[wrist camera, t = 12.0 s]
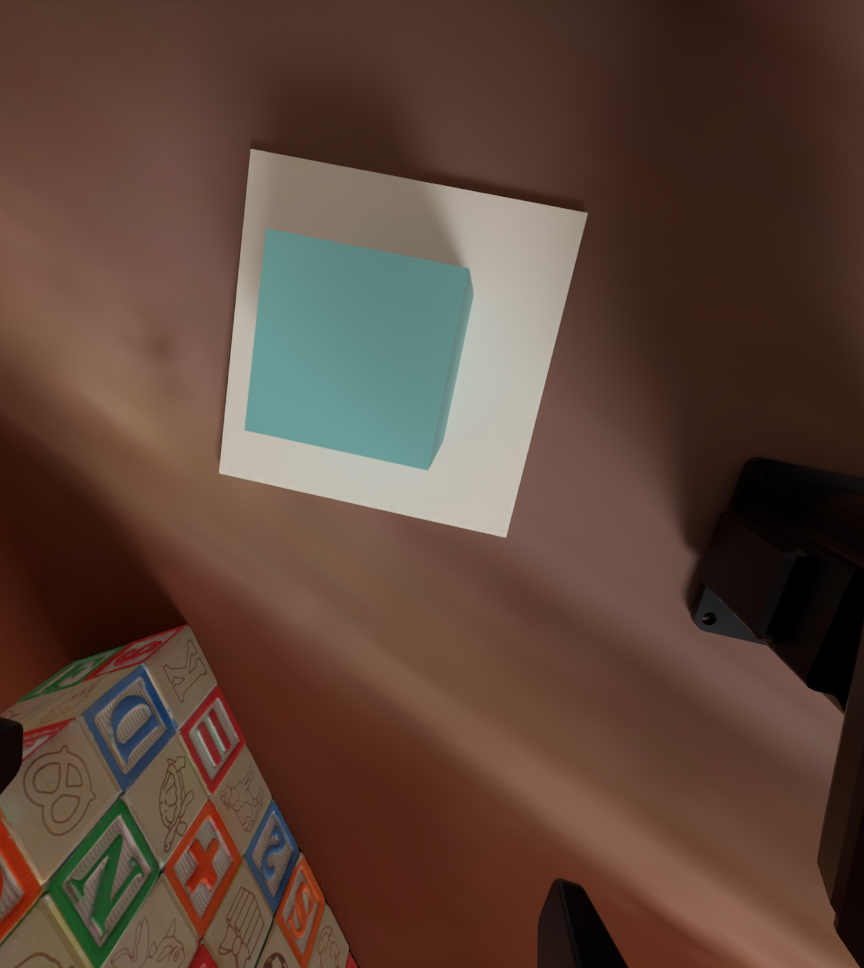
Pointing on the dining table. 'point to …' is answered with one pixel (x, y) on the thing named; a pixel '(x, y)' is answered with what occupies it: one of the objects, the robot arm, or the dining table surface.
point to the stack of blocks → (149, 827)
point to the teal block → (356, 348)
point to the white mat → (487, 346)
